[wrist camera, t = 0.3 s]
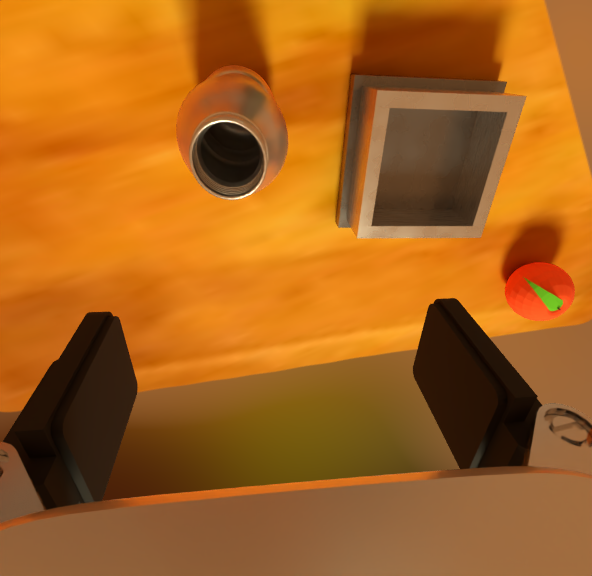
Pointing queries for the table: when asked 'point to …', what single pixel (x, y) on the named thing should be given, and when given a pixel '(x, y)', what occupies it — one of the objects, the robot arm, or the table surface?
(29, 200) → the table surface
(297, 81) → the table surface
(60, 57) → the table surface
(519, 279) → the clementine
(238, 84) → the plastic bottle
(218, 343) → the table surface
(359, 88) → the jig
